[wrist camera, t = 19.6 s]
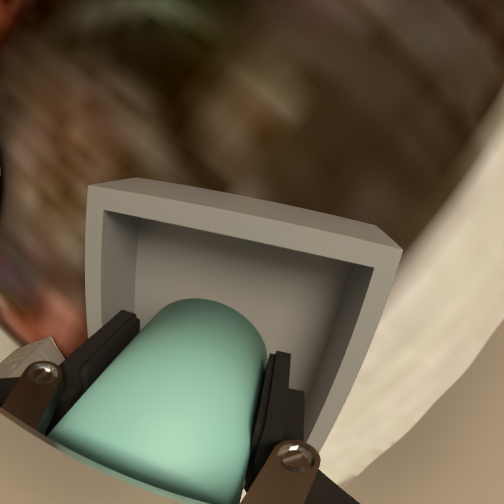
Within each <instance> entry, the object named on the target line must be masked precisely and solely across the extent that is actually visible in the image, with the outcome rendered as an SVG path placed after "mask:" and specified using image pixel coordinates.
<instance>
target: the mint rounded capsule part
mask: <svg viewBox="0 0 504 504" xmlns="http://www.w3.org/2000/svg"><path fill="white" fill-rule="evenodd" d="M267 362H268V357H267V350H266V347H265V344H264V342H263V339H262V337H261V335H260V334H259V332H258V331H257V329H256V328H255V327H254V326H253V324H252V323H251V322H250V321H249V320H248V319H247V318H246V317H244V316H243V315H242V314H240V313H239V312H237V311H236V310H234V309H232V308H231V307H229V306H226V305H224V304H222V303H219V302H216V301H212V300H208V299H199V298H190V299H183V300H178V301H175V302H172V303H170V304H168V305H166V306H165V307H164V308H162V309H161V310H160V311H159V312H158V313H157V314H156V315H155V316H154V317H153V318H152V319H151V320H150V321H149V322H148V323H147V324H146V326H145V327H144V328H143V329H142V330H141V331H140V332H139V333H138V334H137V335H136V336H135V338H134V339H133V340H132V341H131V342H130V343H129V344H128V345H127V346H126V347H125V348H124V350H123V351H122V352H121V353H120V354H119V355H118V356H117V357H116V358H115V359H114V361H113V362H112V363H111V364H110V365H109V366H108V367H107V368H106V369H105V371H104V372H103V373H102V374H101V375H100V376H99V377H98V378H97V380H96V381H95V382H94V383H93V384H92V385H91V386H90V387H89V388H88V390H87V391H86V392H85V393H84V394H83V395H82V396H81V398H80V399H79V400H78V401H77V402H76V403H75V404H74V405H73V407H72V408H71V409H70V410H69V411H68V412H67V413H66V415H65V416H64V417H63V418H62V419H61V420H60V422H59V423H58V424H57V425H56V426H55V427H54V428H53V430H52V431H51V432H50V433H49V434H48V436H47V437H48V438H50V439H52V440H53V441H55V442H57V443H59V444H61V445H62V446H64V447H66V448H68V449H70V450H72V451H74V452H76V453H78V454H79V455H81V456H83V457H85V458H87V459H90V460H92V461H94V462H96V463H98V464H100V465H102V466H104V467H107V468H109V469H111V470H113V471H116V472H118V473H120V474H123V475H125V476H128V477H130V478H133V479H135V480H138V481H140V482H143V483H146V484H148V485H151V486H154V487H157V488H160V489H163V490H165V491H168V492H171V493H175V494H178V495H181V496H184V497H188V498H191V499H195V500H198V501H202V502H205V503H209V504H240V499H241V495H242V490H243V486H244V481H245V476H246V472H247V467H248V462H249V457H250V445H251V440H252V435H253V430H254V426H255V421H256V416H257V411H258V406H259V401H260V395H261V390H262V385H263V380H264V375H265V370H266V366H267Z"/></svg>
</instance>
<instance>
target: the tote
mask: <svg viewBox="0 0 504 504" xmlns="http://www.w3.org/2000/svg"><path fill="white" fill-rule="evenodd" d="M402 252H403V249H402V248H401V247H400V246H399V245H397V244H396V243H395V242H394V241H393V240H392V239H391V238H390V237H388V236H387V235H386V234H385V233H384V232H383V231H382V230H381V229H379V228H378V227H377V226H376V225H372V224H368V223H363V222H359V221H355V220H351V219H347V218H343V217H338V216H334V215H330V214H325V213H321V212H317V211H312V210H308V209H303V208H299V207H294V206H289V205H285V204H280V203H275V202H270V201H266V200H261V199H256V198H251V197H246V196H241V195H235V194H230V193H225V192H220V191H214V190H209V189H203V188H198V187H192V186H186V185H181V184H175V183H169V182H163V181H156V180H150V179H144V178H137V177H136V178H130V179H123V180H117V181H110V182H104V183H98V184H93V185H88V195H87V210H86V231H85V294H86V315H87V330H88V338H90V337H91V336H92V335H93V334H95V333H96V332H97V331H98V330H99V329H100V328H101V327H102V326H104V325H105V324H106V323H107V322H108V321H109V320H110V319H112V318H113V317H114V316H115V315H116V314H117V313H118V312H120V311H121V310H126V311H129V312H132V313H135V314H136V316H137V318H139V319H140V331H141V330H142V329H143V328H144V327H145V326H146V324H147V323H148V322H149V321H150V320H151V319H152V318H153V317H154V316H155V315H156V314H157V313H158V312H159V311H160V310H161V309H162V308H164V307H165V306H166V305H168V304H170V303H172V302H175V301H178V300H183V299H190V298H199V299H208V300H212V301H216V302H219V303H222V304H224V305H226V306H229V307H231V308H232V309H234V310H236V311H237V312H239V313H240V314H242V315H243V316H244V317H246V318H247V319H248V320H249V321H250V322H251V323H252V324H253V326H254V327H255V328H256V329H257V331H258V332H259V334H260V335H261V337H262V339H263V342H264V344H265V347H266V350H267V357H268V358H269V355H270V353H272V354H276V351H281V352H286V353H291V364H290V377H289V388H290V389H296V390H301V391H304V392H305V410H304V442H305V443H307V444H310V445H311V446H312V447H314V448H315V449H316V451H317V452H318V453H319V452H320V450H321V448H322V446H323V444H324V443H325V441H326V439H327V437H328V435H329V433H330V431H331V429H332V427H333V425H334V423H335V421H336V419H337V417H338V415H339V413H340V411H341V409H342V407H343V405H344V403H345V401H346V399H347V397H348V395H349V393H350V390H351V388H352V386H353V384H354V382H355V379H356V377H357V375H358V373H359V370H360V368H361V366H362V363H363V361H364V359H365V356H366V354H367V351H368V349H369V346H370V344H371V341H372V339H373V336H374V334H375V331H376V329H377V326H378V323H379V321H380V318H381V315H382V313H383V310H384V307H385V304H386V301H387V298H388V296H389V293H390V290H391V287H392V284H393V281H394V278H395V275H396V271H397V268H398V265H399V262H400V258H401V255H402ZM244 484H245V481H244ZM243 487H244V486H243Z"/></svg>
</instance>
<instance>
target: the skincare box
mask: <svg viewBox="0 0 504 504" xmlns="http://www.w3.org/2000/svg"><path fill="white" fill-rule="evenodd" d="M64 360H65V358H64V357H63V355H62V354H61V352H60V351H59V349H58V347H57V346H56V344H55V342H54V340H53V338H52V337H51V336H49V337H46V338H43V339H40V340H37V341H35V342H32V343H29V344H27V345H25V346H23V347H21V348H19V349H17V350H15V351H14V352H13V353H12V354H10V355H9V356H8V357H7V358H6V359H5V360H4V361H3V362H1V363H0V378H11V377H21V375H22V374H23V372H24V370H25V369H26V368H27V367H28V366H29V365H30V364H32V363H33V362H37V361H50V362H53V363H55V364H57V365H58V366H59V365H60V364H61V363H62V362H63V361H64Z"/></svg>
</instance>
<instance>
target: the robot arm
mask: <svg viewBox="0 0 504 504" xmlns="http://www.w3.org/2000/svg"><path fill="white" fill-rule="evenodd" d="M139 332H140V319H139V318H137V316H136V314H135V313H132V312H129V311H126V310H121V311H120V312H118V313H117V314H116V315H115V316H114V317H113V318H112V319H110V320H109V321H108V322H107V323H106V324H105V325H104V326H102V327H101V328H100V329H99V330H98V331H97V332H96V333H95V334H93V335H92V336H91V337H90V338H88V339H87V340H86V341H85V342H84V343H83V344H82V345H81V346H80V347H78V348H77V349H76V350H75V351H74V352H73V353H72V354H71V355H70V356H68V357H67V358H66V359H65V360H64V361H63V362H62V363H61V364H60V365H59V366H58V365H57V364H55V363H53V362H50V361H37V362H33V363H32V364H30V365H29V366H28V367H27V368H26V369H25V370H24V372H23V374H22V375H21V377H11V378H0V504H209V503H205V502H202V501H198V500H195V499H191V498H188V497H184V496H181V495H178V494H175V493H171V492H168V491H165V490H163V489H160V488H157V487H154V486H151V485H148V484H146V483H143V482H140V481H138V480H135V479H133V478H130V477H128V476H125V475H123V474H120V473H118V472H116V471H113V470H111V469H109V468H107V467H104V466H102V465H100V464H98V463H96V462H94V461H92V460H90V459H87V458H85V457H83V456H81V455H79V454H78V453H76V452H74V451H72V450H70V449H68V448H66V447H64V446H62V445H61V444H59V443H57V442H55V441H53V440H52V439H50V438H48V437H47V436H48V434H49V433H50V432H51V431H52V430H53V428H54V427H55V426H56V425H57V424H58V423H59V422H60V420H61V419H62V418H63V417H64V416H65V415H66V413H67V412H68V411H69V410H70V409H71V408H72V407H73V405H74V404H75V403H76V402H77V401H78V400H79V399H80V398H81V396H82V395H83V394H84V393H85V392H86V391H87V390H88V388H89V387H90V386H91V385H92V384H93V383H94V382H95V381H96V380H97V378H98V377H99V376H100V375H101V374H102V373H103V372H104V371H105V369H106V368H107V367H108V366H109V365H110V364H111V363H112V362H113V361H114V359H115V358H116V357H117V356H118V355H119V354H120V353H121V352H122V351H123V350H124V348H125V347H126V346H127V345H128V344H129V343H130V342H131V341H132V340H133V339H134V338H135V336H136V335H137V334H138V333H139ZM290 364H291V353H286V352H281V351H276V354H272V353H270V355H269V358H268V362H267V366H266V370H265V375H264V380H263V385H262V390H261V395H260V401H259V406H258V411H257V416H256V421H255V426H254V430H253V435H252V440H251V445H250V457H249V462H248V467H247V472H246V476H245V484H244V488H243V489H245V491H246V492H247V494H246V495H245V497H244V498H243V500H242V501H241V503H240V504H360V503H359V502H357V501H356V500H355V499H354V498H352V497H351V496H350V495H349V494H347V493H346V492H345V491H343V490H342V489H341V488H340V487H339V486H338V485H336V484H335V483H334V482H333V481H332V480H330V479H329V478H328V477H327V476H326V475H325V474H323V473H322V472H321V471H320V470H319V469H318V468H319V466H320V456H319V453H318V452H317V451H316V449H315V448H314V447H312V446H311V445H310V444H307V443H305V442H304V410H305V392H304V391H301V390H296V389H290V388H289V377H290Z"/></svg>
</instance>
